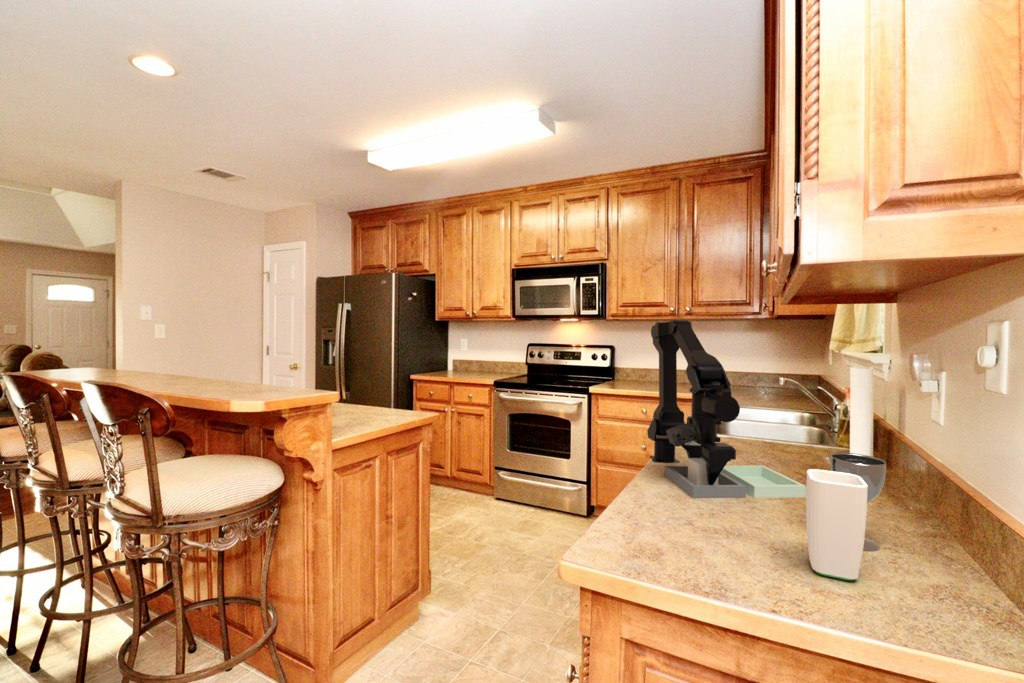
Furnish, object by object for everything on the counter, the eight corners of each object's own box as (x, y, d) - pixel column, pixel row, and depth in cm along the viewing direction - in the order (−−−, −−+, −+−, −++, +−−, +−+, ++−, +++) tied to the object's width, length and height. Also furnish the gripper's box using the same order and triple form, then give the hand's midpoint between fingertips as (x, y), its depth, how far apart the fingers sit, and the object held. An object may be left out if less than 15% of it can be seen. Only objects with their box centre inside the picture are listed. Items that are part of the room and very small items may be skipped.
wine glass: (877, 556, 79) (880, 467, 79) (822, 540, 85) (825, 457, 85) (887, 543, 84) (890, 459, 84) (834, 528, 90) (837, 450, 90)
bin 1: (664, 477, 120) (664, 465, 120) (710, 477, 121) (710, 465, 121) (692, 500, 104) (693, 486, 104) (745, 499, 105) (745, 486, 105)
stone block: (687, 482, 115) (688, 457, 115) (707, 482, 115) (708, 457, 115) (696, 489, 110) (697, 463, 110) (717, 489, 110) (718, 463, 110)
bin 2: (717, 477, 121) (718, 465, 121) (762, 477, 122) (763, 465, 122) (754, 499, 105) (754, 486, 105) (805, 499, 106) (806, 486, 106)
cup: (802, 556, 79) (805, 467, 78) (855, 566, 76) (859, 474, 75) (808, 576, 72) (811, 480, 72) (866, 589, 69) (870, 487, 69)
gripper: (656, 407, 121) (654, 468, 121) (688, 421, 102) (686, 493, 103) (698, 407, 122) (697, 467, 122) (738, 421, 103) (736, 493, 104)
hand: (702, 479), depth 113 cm, fingers open, 8 cm apart
